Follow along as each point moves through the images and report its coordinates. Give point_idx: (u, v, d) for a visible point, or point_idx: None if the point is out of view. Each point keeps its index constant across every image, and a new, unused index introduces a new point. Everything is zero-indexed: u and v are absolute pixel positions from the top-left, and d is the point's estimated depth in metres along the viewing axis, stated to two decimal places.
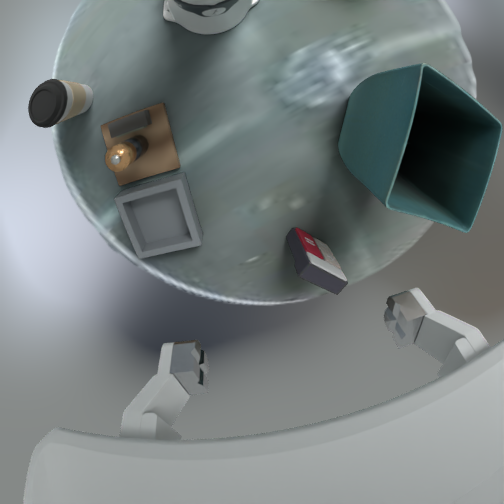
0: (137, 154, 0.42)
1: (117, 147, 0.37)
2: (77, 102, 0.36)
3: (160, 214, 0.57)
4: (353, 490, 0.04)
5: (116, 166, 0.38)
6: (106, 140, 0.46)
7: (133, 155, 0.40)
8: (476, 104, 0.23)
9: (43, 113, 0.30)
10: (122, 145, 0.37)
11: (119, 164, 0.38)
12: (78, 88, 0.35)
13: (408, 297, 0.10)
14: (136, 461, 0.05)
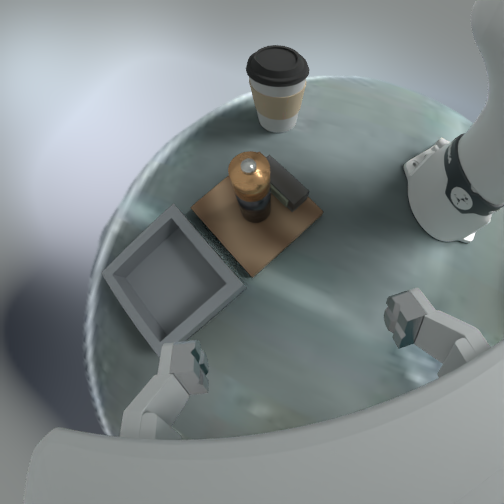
0: (257, 203, 0.32)
1: (265, 162, 0.28)
2: (285, 105, 0.36)
3: (173, 281, 0.39)
4: (353, 490, 0.04)
5: (236, 172, 0.28)
6: None
7: (258, 194, 0.30)
8: None
9: (267, 62, 0.30)
10: None
11: (242, 175, 0.28)
12: (299, 102, 0.37)
13: (408, 297, 0.10)
14: (136, 461, 0.05)
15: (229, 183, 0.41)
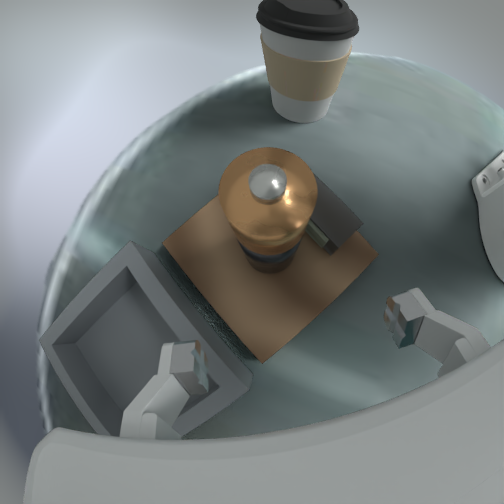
0: (279, 255, 0.16)
1: (307, 175, 0.12)
2: (320, 76, 0.20)
3: (139, 359, 0.23)
4: (353, 490, 0.04)
5: (238, 196, 0.12)
6: None
7: (287, 244, 0.14)
8: None
9: (292, 4, 0.14)
10: None
11: (251, 205, 0.12)
12: (340, 75, 0.21)
13: (408, 297, 0.10)
14: (136, 461, 0.05)
15: None
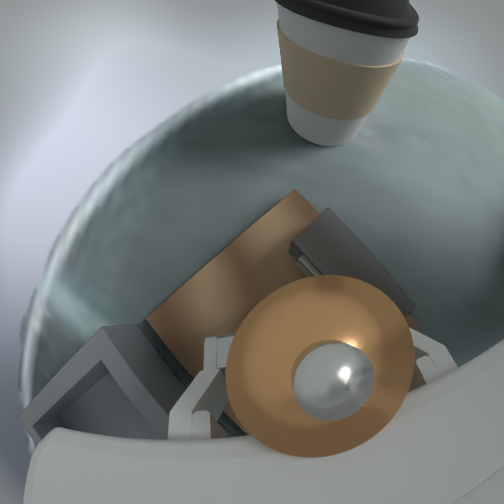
0: None
1: (400, 339, 0.05)
2: (364, 88, 0.13)
3: None
4: (353, 490, 0.04)
5: (268, 393, 0.05)
6: (261, 224, 0.19)
7: None
8: None
9: None
10: None
11: (294, 410, 0.05)
12: (385, 86, 0.15)
13: None
14: (136, 461, 0.05)
15: (228, 267, 0.18)
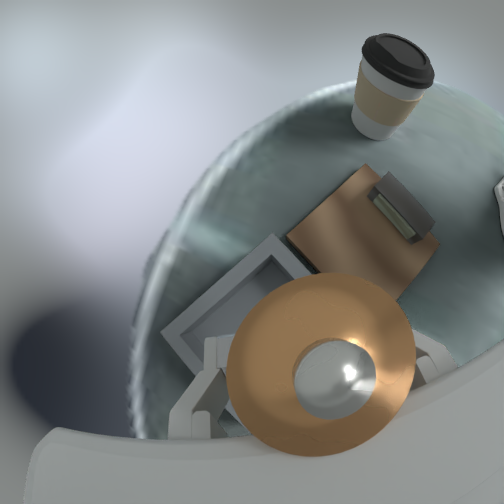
0: None
1: (402, 337, 0.05)
2: (404, 110, 0.25)
3: None
4: (353, 490, 0.04)
5: (269, 391, 0.05)
6: (350, 181, 0.30)
7: None
8: None
9: (394, 53, 0.20)
10: None
11: (295, 408, 0.05)
12: None
13: None
14: (136, 461, 0.05)
15: (335, 203, 0.30)
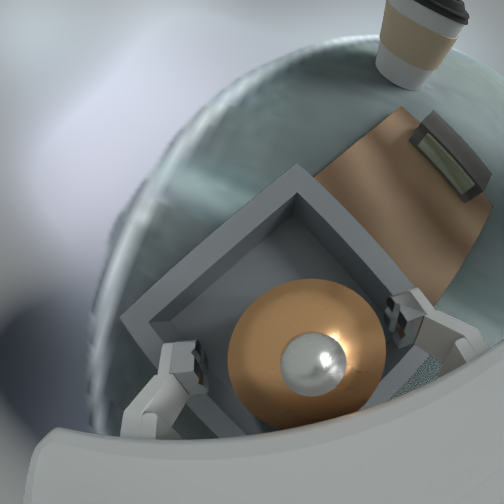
0: None
1: (373, 332, 0.07)
2: (440, 49, 0.16)
3: None
4: (353, 490, 0.04)
5: (262, 373, 0.07)
6: (387, 122, 0.21)
7: None
8: None
9: None
10: None
11: (283, 389, 0.07)
12: None
13: (408, 297, 0.10)
14: (136, 461, 0.05)
15: (373, 145, 0.21)
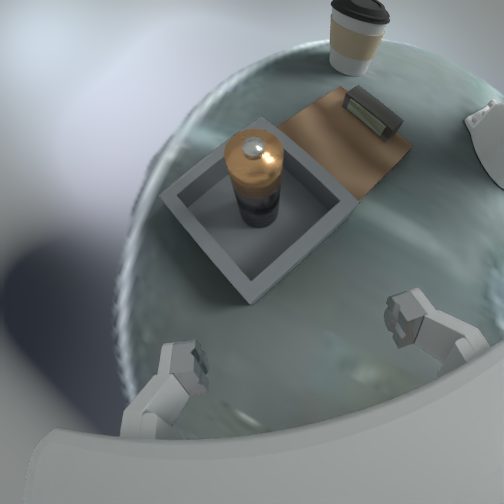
0: (263, 201, 0.23)
1: (277, 143, 0.19)
2: (368, 44, 0.28)
3: None
4: (353, 490, 0.04)
5: (236, 156, 0.19)
6: (328, 96, 0.33)
7: (267, 188, 0.21)
8: None
9: (354, 2, 0.23)
10: None
11: (244, 160, 0.19)
12: (377, 46, 0.29)
13: (408, 297, 0.10)
14: (136, 461, 0.05)
15: (315, 109, 0.33)
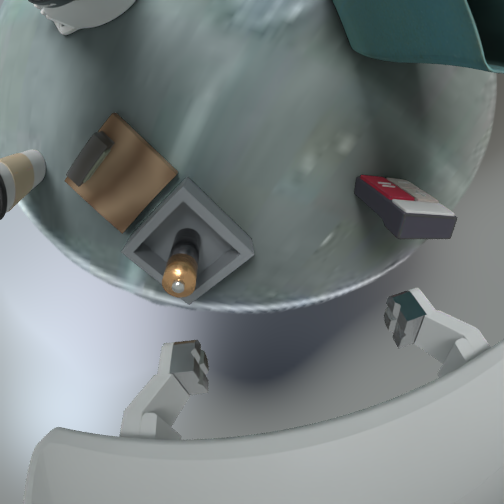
0: (196, 260, 0.38)
1: (171, 273, 0.33)
2: (20, 172, 0.27)
3: None
4: (353, 490, 0.04)
5: (183, 291, 0.35)
6: (79, 192, 0.37)
7: (194, 267, 0.35)
8: None
9: None
10: (175, 266, 0.33)
11: (185, 288, 0.34)
12: (15, 158, 0.27)
13: (408, 297, 0.10)
14: (136, 461, 0.05)
15: (96, 202, 0.38)
